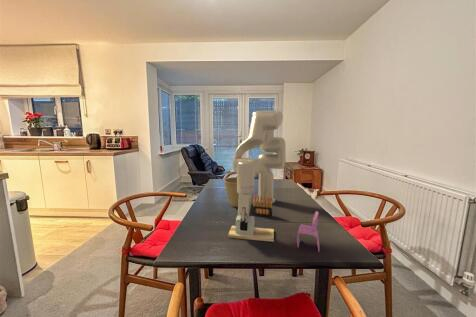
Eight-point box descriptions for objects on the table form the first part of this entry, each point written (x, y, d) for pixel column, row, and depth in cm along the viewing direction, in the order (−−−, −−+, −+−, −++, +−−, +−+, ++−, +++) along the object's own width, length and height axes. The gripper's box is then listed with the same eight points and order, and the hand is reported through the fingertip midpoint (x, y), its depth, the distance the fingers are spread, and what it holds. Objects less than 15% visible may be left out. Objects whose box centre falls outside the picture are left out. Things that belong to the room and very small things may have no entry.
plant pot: (238, 211, 121) (238, 184, 119) (219, 205, 130) (219, 180, 127) (252, 203, 133) (253, 179, 130) (234, 198, 142) (234, 176, 139)
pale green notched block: (237, 228, 98) (237, 215, 97) (254, 229, 97) (254, 216, 96) (235, 233, 94) (235, 219, 93) (253, 234, 92) (253, 220, 92)
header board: (231, 227, 101) (231, 217, 100) (273, 231, 98) (274, 220, 97) (228, 237, 92) (228, 226, 92) (273, 241, 89) (274, 230, 88)
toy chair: (298, 238, 92) (299, 206, 90) (319, 242, 89) (321, 209, 86) (296, 248, 84) (297, 213, 82) (319, 253, 81) (321, 217, 79)
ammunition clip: (252, 214, 116) (253, 194, 114) (253, 213, 118) (253, 193, 116) (272, 216, 114) (272, 195, 112) (272, 215, 116) (272, 194, 114)
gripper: (240, 183, 101) (239, 216, 104) (233, 194, 85) (233, 234, 87) (255, 184, 100) (254, 217, 103) (252, 195, 83) (251, 235, 86)
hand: (245, 225), depth 95 cm, fingers open, 9 cm apart
